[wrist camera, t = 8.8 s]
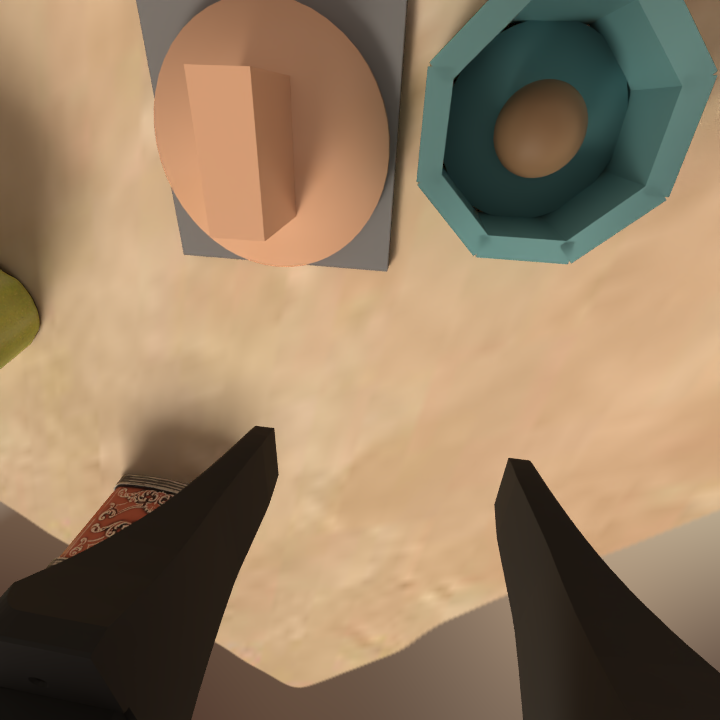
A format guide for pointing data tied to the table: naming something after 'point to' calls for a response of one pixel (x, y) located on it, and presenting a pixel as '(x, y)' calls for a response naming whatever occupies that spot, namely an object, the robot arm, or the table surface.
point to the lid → (271, 130)
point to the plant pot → (15, 318)
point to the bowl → (604, 132)
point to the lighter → (122, 510)
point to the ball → (540, 128)
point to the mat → (385, 58)
